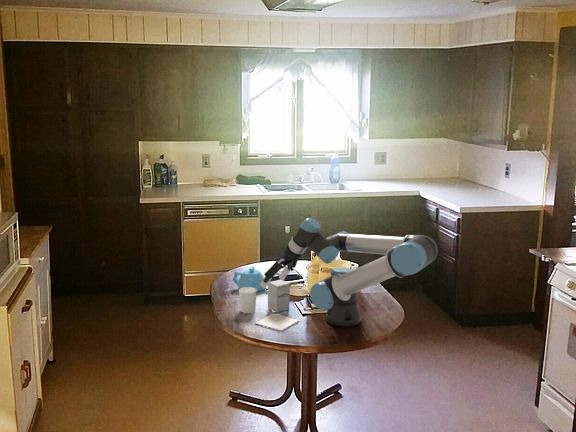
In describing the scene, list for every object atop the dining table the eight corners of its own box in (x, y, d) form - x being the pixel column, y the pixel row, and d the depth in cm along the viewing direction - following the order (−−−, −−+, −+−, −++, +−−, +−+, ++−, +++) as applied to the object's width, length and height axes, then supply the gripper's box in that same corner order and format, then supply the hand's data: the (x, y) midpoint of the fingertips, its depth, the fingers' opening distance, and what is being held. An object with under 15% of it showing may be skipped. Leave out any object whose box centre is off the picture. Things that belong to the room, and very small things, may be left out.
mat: (298, 321, 268) (299, 320, 268) (281, 331, 257) (281, 330, 257) (272, 314, 275) (272, 313, 275) (255, 324, 265) (254, 322, 265)
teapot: (254, 281, 320) (253, 261, 317) (273, 289, 309) (273, 268, 307) (230, 288, 309) (230, 268, 307) (250, 296, 299) (249, 275, 296)
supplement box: (276, 313, 278) (276, 286, 275) (267, 308, 283) (267, 281, 281) (289, 309, 282) (290, 283, 279) (280, 304, 288) (280, 278, 285)
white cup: (254, 314, 276) (253, 293, 273) (237, 313, 277) (236, 292, 275) (258, 308, 283) (258, 287, 281) (241, 307, 285) (241, 286, 282)
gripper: (305, 236, 272) (282, 269, 283) (271, 248, 252) (248, 283, 263) (317, 248, 270) (293, 281, 280) (284, 261, 250) (260, 296, 260)
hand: (271, 282), depth 271 cm, fingers open, 13 cm apart
